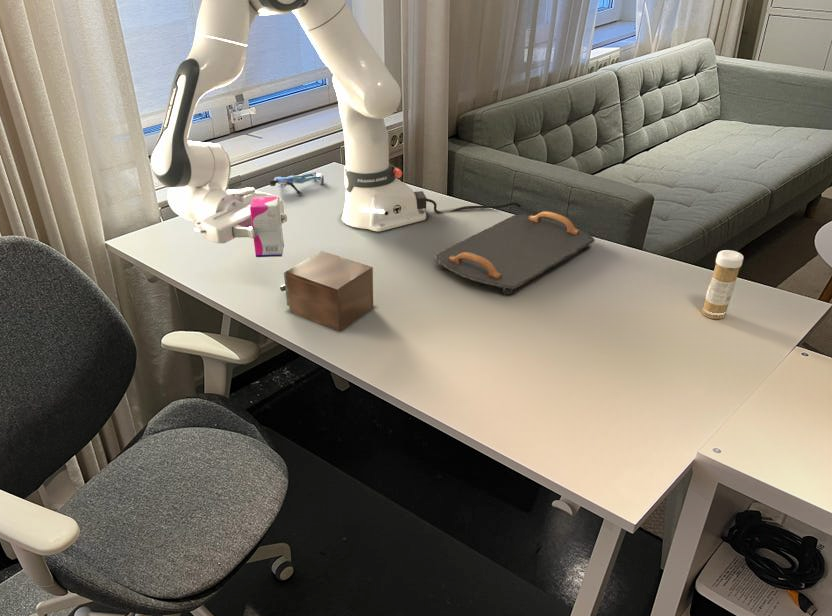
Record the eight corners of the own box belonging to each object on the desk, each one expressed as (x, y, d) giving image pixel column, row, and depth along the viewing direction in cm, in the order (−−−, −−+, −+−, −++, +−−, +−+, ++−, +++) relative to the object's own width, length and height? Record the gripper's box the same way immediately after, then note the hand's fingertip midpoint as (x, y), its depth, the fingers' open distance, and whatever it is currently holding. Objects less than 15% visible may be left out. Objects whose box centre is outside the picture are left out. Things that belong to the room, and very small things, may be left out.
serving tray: (522, 220, 185) (524, 197, 181) (602, 245, 171) (606, 221, 167) (423, 270, 164) (424, 246, 160) (505, 304, 149) (508, 278, 146)
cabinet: (289, 311, 150) (285, 271, 145) (324, 289, 157) (321, 250, 152) (339, 331, 143) (337, 289, 138) (373, 307, 150) (372, 266, 145)
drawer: (273, 300, 153) (270, 267, 148) (305, 281, 159) (302, 249, 155) (332, 322, 144) (330, 289, 140) (363, 301, 151) (362, 269, 146)
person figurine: (311, 182, 217) (259, 188, 207) (311, 168, 215) (259, 173, 205) (331, 192, 210) (278, 199, 200) (332, 177, 207) (279, 183, 198)
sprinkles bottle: (712, 306, 146) (729, 247, 138) (730, 316, 142) (749, 256, 135) (695, 312, 144) (712, 252, 137) (714, 322, 141) (732, 261, 133)
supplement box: (284, 245, 156) (279, 195, 149) (282, 257, 151) (277, 206, 145) (258, 245, 156) (252, 196, 149) (255, 257, 151) (249, 207, 145)
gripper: (187, 213, 148) (233, 229, 141) (255, 184, 162) (300, 197, 154) (191, 241, 152) (236, 258, 145) (258, 210, 165) (302, 224, 158)
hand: (270, 226), depth 150 cm, fingers closed on supplement box, 8 cm apart
